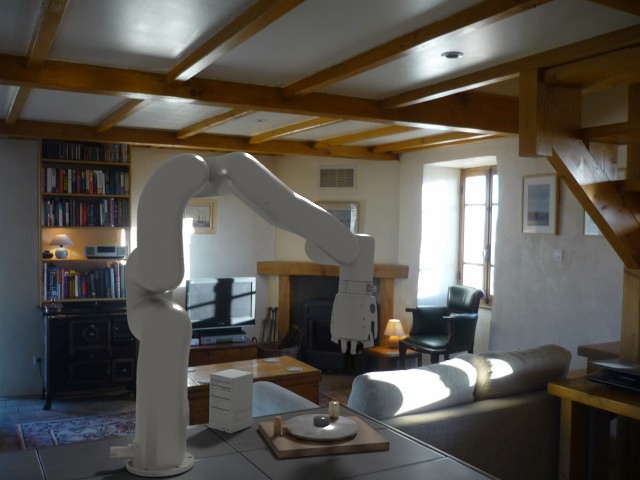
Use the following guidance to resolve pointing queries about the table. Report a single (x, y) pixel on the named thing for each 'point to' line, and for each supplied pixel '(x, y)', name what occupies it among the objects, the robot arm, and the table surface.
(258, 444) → the table surface
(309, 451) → the base board
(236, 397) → the supplement box
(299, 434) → the flange plate
